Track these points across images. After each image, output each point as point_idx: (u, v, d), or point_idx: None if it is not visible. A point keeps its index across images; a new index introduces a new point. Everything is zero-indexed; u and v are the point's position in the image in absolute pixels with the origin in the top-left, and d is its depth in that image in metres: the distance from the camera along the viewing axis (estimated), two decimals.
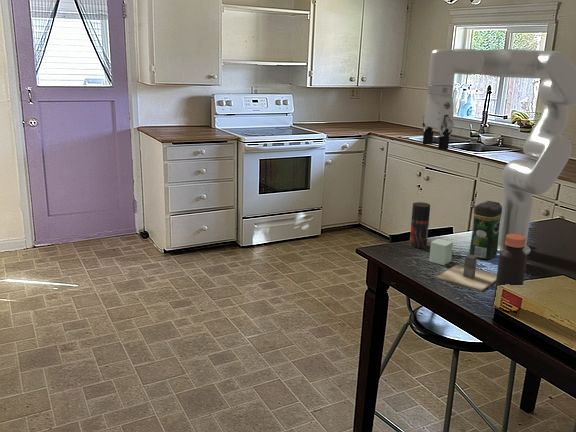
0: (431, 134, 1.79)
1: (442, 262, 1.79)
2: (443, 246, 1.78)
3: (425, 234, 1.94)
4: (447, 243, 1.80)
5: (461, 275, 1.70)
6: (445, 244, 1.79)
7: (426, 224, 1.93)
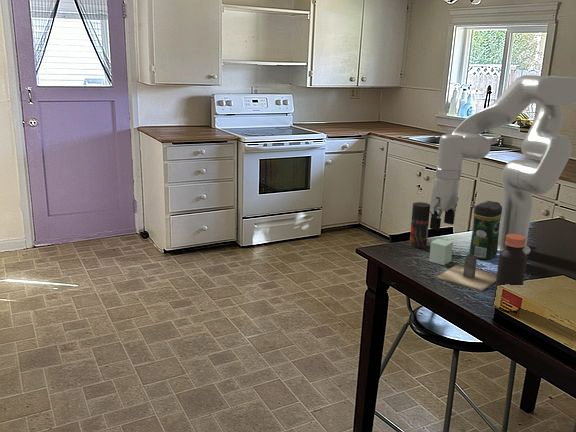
0: None
1: (442, 262, 1.79)
2: (443, 246, 1.78)
3: (425, 234, 1.94)
4: (447, 243, 1.80)
5: (461, 275, 1.70)
6: (445, 244, 1.79)
7: (426, 224, 1.93)
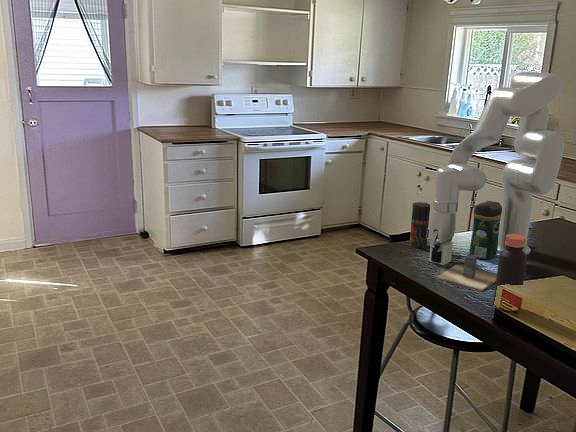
0: None
1: (442, 262, 1.79)
2: (443, 246, 1.78)
3: (425, 234, 1.94)
4: (447, 243, 1.80)
5: (461, 275, 1.70)
6: (445, 244, 1.79)
7: (426, 224, 1.93)
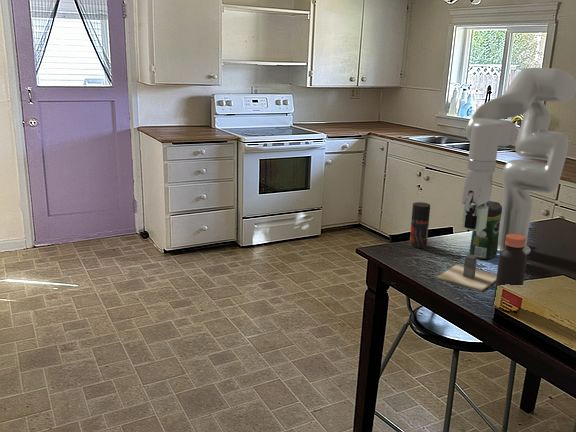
0: None
1: (477, 228, 1.61)
2: (478, 210, 1.60)
3: (425, 234, 1.94)
4: (482, 207, 1.62)
5: (461, 275, 1.70)
6: (480, 208, 1.61)
7: (426, 224, 1.93)
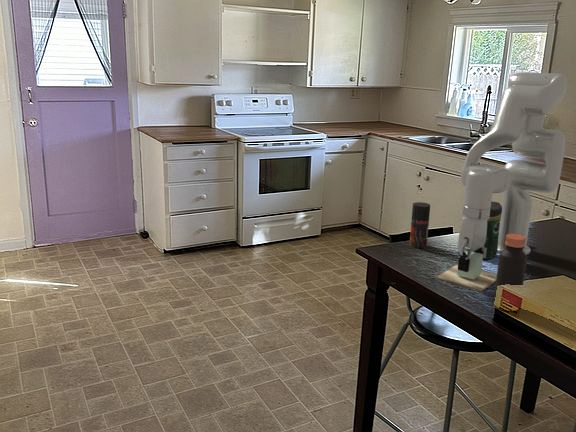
0: None
1: (472, 276, 1.66)
2: (473, 259, 1.64)
3: (425, 234, 1.94)
4: (477, 255, 1.66)
5: None
6: (475, 257, 1.65)
7: (426, 224, 1.93)
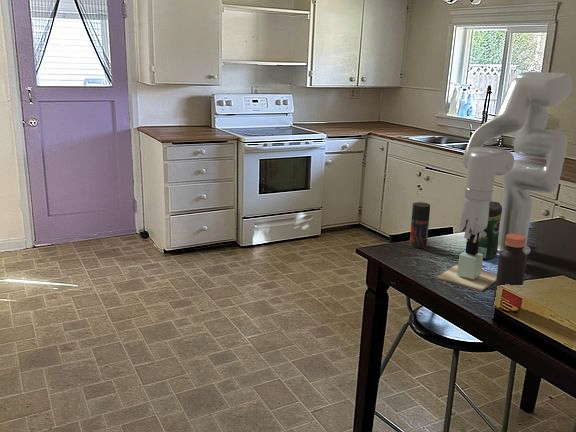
0: None
1: (472, 276, 1.66)
2: (473, 259, 1.64)
3: (425, 234, 1.94)
4: (477, 255, 1.66)
5: None
6: (475, 257, 1.65)
7: (426, 224, 1.93)
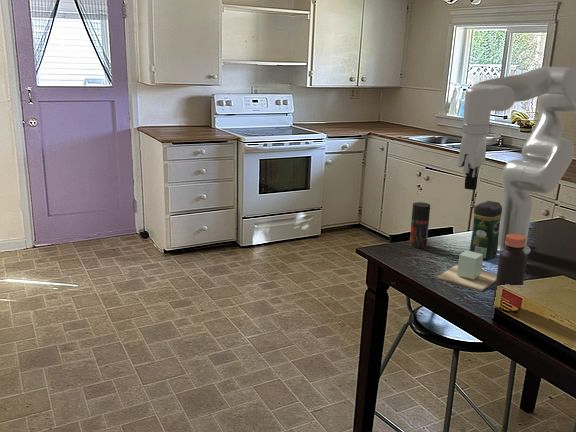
0: None
1: (472, 276, 1.66)
2: (473, 259, 1.64)
3: (425, 234, 1.94)
4: (477, 255, 1.66)
5: None
6: (475, 257, 1.65)
7: (426, 224, 1.93)
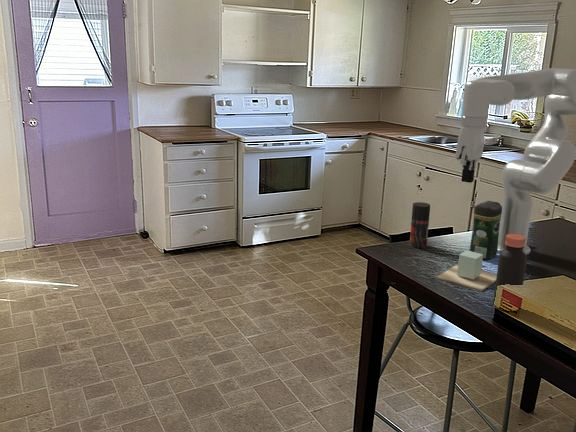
0: None
1: (472, 276, 1.66)
2: (473, 259, 1.64)
3: (425, 234, 1.94)
4: (477, 255, 1.66)
5: None
6: (475, 257, 1.65)
7: (426, 224, 1.93)
